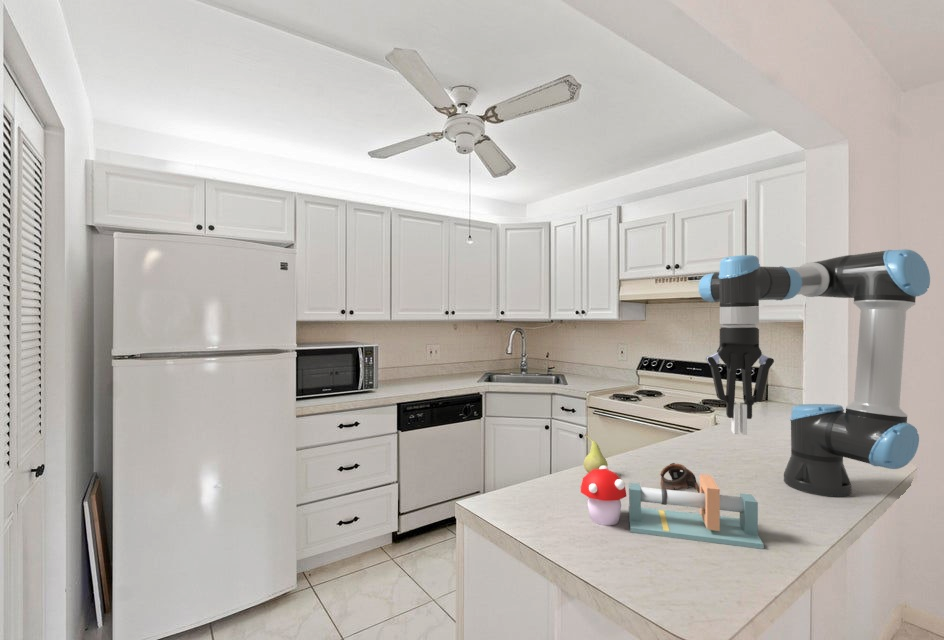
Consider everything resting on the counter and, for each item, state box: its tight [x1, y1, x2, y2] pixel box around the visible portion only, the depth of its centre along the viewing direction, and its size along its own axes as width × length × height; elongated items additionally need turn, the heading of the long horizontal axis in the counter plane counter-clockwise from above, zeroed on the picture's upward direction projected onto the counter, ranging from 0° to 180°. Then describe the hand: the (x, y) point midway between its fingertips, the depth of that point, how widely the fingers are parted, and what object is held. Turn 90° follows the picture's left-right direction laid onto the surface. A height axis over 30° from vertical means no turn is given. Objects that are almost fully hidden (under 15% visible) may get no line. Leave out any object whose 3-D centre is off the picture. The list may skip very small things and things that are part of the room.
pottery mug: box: [659, 462, 700, 493], centre depth 126 cm, size 12×10×8 cm
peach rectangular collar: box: [699, 473, 721, 531], centre depth 102 cm, size 2×9×9 cm, turn 163°
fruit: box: [583, 433, 609, 474], centre depth 137 cm, size 7×8×12 cm
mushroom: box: [580, 466, 627, 527], centre depth 108 cm, size 11×11×12 cm
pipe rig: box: [628, 482, 764, 550], centre depth 103 cm, size 26×12×8 cm, turn 73°
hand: (739, 432), depth 100 cm, fingers closed
